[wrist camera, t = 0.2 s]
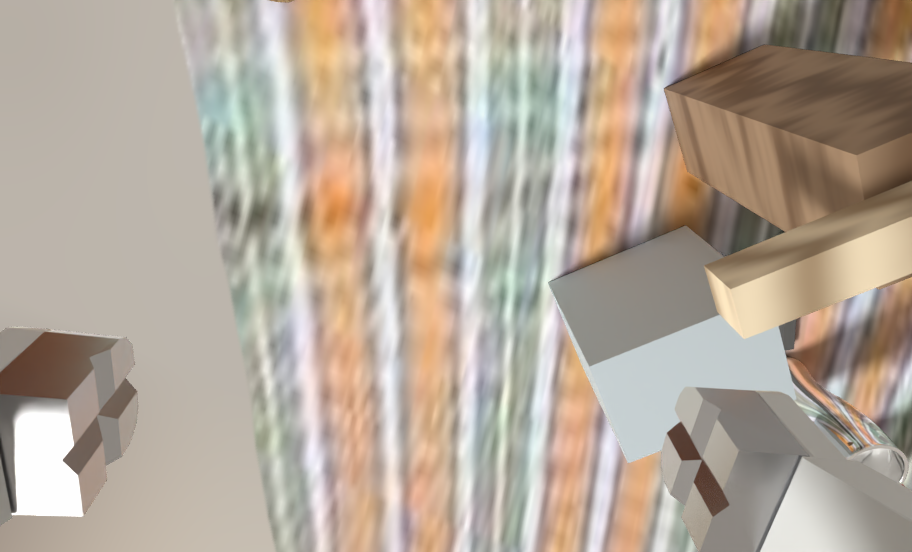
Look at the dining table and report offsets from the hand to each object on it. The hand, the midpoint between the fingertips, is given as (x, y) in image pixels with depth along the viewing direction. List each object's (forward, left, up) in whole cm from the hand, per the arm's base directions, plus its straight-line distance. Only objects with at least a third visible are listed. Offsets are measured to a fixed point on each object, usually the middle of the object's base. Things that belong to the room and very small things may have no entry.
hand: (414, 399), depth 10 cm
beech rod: (+2, +25, -22) cm, 33 cm away
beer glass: (+27, +42, -48) cm, 69 cm away
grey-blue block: (+19, +23, -48) cm, 56 cm away
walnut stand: (0, +28, -48) cm, 55 cm away
